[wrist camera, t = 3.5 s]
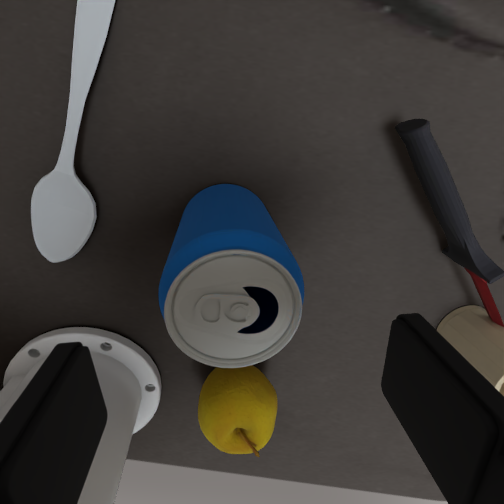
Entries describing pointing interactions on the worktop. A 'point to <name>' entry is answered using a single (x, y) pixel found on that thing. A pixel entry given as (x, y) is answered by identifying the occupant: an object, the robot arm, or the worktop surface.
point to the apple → (237, 409)
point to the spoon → (71, 148)
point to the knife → (449, 210)
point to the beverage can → (230, 281)
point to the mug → (477, 341)
